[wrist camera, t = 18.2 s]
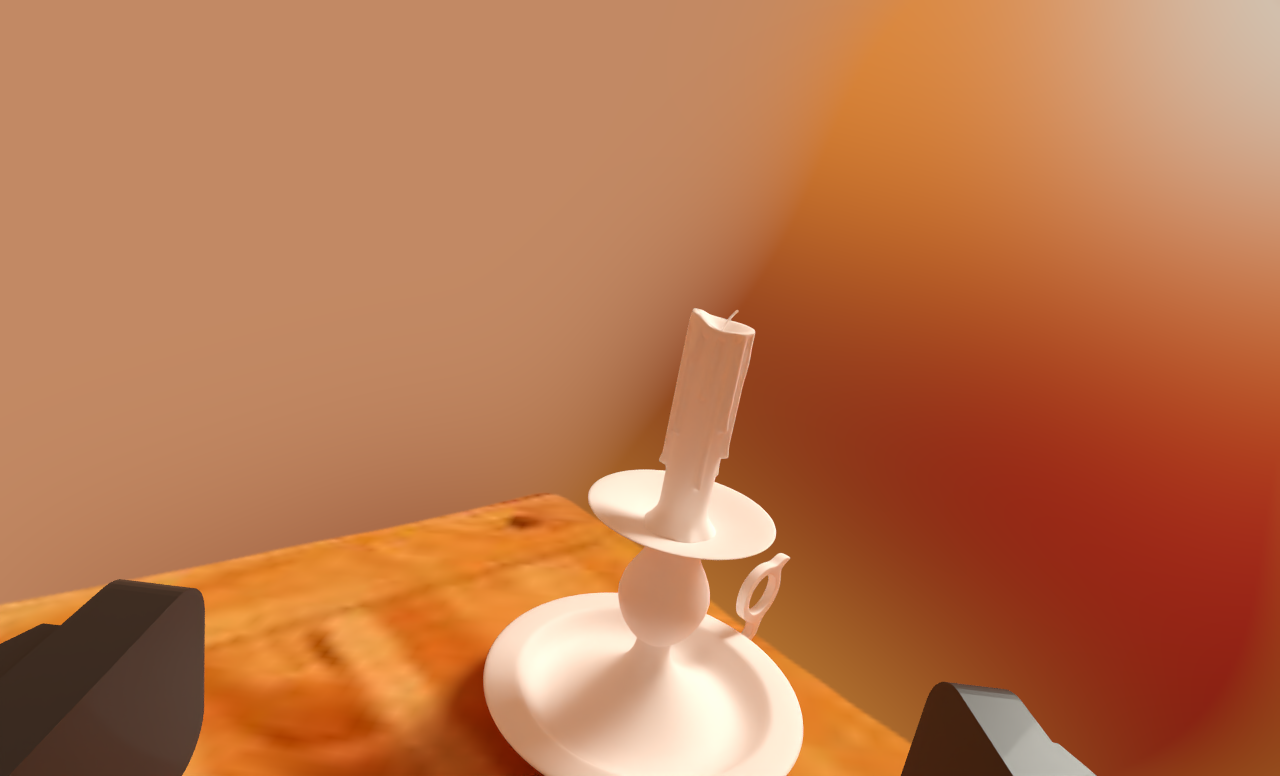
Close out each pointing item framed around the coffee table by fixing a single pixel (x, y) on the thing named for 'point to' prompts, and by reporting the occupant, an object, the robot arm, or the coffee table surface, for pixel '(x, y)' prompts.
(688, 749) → the candlestick
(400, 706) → the coffee table surface
